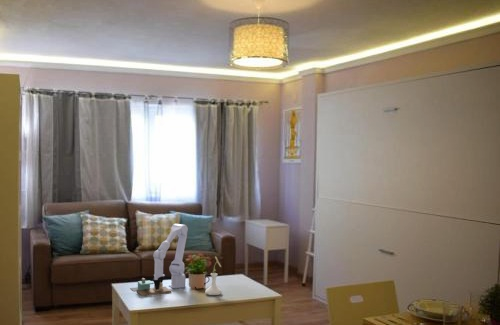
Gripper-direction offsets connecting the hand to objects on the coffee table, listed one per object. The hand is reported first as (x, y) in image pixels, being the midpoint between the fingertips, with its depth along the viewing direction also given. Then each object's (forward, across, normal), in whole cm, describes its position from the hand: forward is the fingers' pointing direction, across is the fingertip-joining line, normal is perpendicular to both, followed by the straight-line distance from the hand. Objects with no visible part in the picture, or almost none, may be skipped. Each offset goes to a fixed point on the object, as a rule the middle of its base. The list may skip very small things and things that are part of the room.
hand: (158, 288), depth 346 cm
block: (+2, 0, 0) cm, 2 cm away
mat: (+2, +4, +15) cm, 16 cm away
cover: (+1, -5, +7) cm, 9 cm away
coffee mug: (+3, +15, -26) cm, 30 cm away
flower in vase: (+3, +1, -38) cm, 38 cm away
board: (+2, -2, +3) cm, 4 cm away
